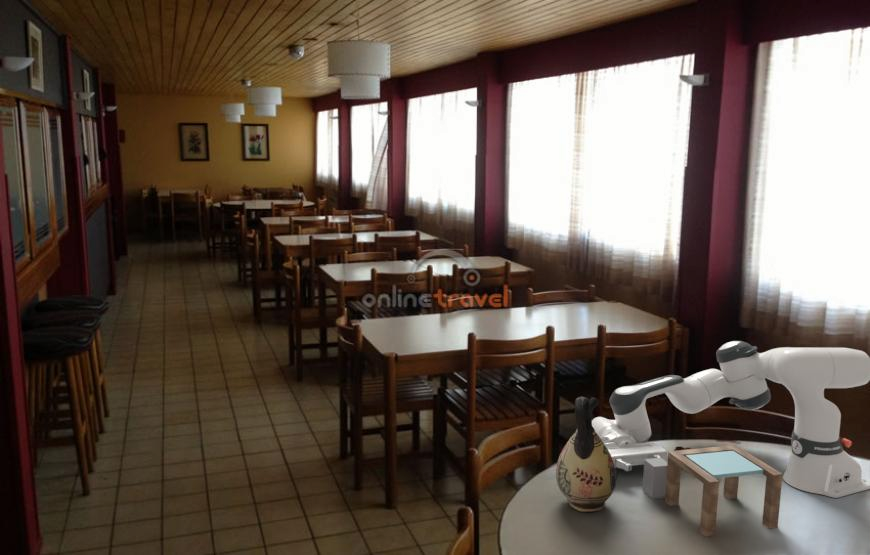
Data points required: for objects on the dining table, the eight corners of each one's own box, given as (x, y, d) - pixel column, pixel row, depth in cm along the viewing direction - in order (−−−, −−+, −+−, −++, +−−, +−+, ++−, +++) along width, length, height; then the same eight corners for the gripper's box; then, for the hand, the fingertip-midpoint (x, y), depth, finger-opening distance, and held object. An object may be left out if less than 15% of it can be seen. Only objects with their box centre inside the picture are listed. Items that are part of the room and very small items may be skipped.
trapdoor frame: (731, 493, 198) (735, 444, 196) (777, 527, 181) (782, 474, 178) (664, 501, 194) (668, 451, 191) (705, 536, 176) (709, 482, 174)
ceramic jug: (565, 486, 202) (569, 381, 197) (621, 498, 195) (626, 390, 190) (544, 512, 188) (548, 400, 182) (604, 526, 180) (610, 411, 175)
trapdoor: (732, 454, 192) (733, 450, 192) (762, 473, 181) (763, 469, 181) (685, 459, 189) (685, 455, 189) (712, 479, 178) (713, 475, 178)
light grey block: (659, 488, 201) (661, 457, 200) (668, 496, 197) (670, 465, 195) (642, 490, 200) (644, 459, 199) (651, 498, 195) (653, 466, 194)
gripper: (652, 454, 219) (677, 473, 206) (589, 460, 214) (611, 481, 201) (653, 434, 218) (679, 452, 205) (590, 440, 213) (612, 459, 200)
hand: (644, 466), depth 203 cm, fingers open, 8 cm apart
